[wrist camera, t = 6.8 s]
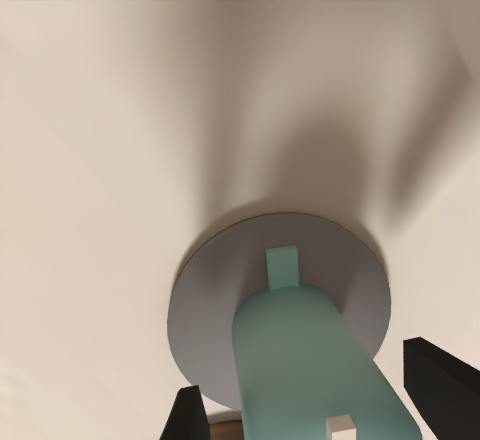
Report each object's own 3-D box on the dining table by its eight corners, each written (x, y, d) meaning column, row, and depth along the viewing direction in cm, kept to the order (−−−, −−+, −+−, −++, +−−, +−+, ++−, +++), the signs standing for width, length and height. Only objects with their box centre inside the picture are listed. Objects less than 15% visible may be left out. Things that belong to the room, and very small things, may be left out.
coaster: (380, 192, 14) (388, 195, 13) (386, 379, 17) (393, 388, 16) (142, 237, 13) (140, 243, 13) (194, 422, 16) (194, 433, 16)
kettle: (338, 364, 15) (426, 525, 9) (237, 381, 15) (260, 559, 9) (336, 238, 13) (447, 339, 7) (220, 254, 13) (235, 374, 7)
